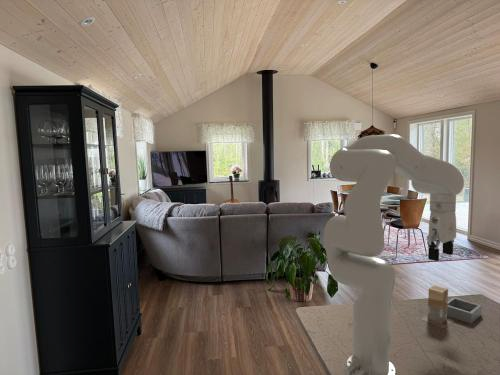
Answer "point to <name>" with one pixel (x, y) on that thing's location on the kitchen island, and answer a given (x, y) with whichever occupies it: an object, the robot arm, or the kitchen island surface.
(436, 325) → the stud plate
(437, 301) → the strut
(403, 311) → the kitchen island surface
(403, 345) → the kitchen island surface
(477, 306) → the bin
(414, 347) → the kitchen island surface
